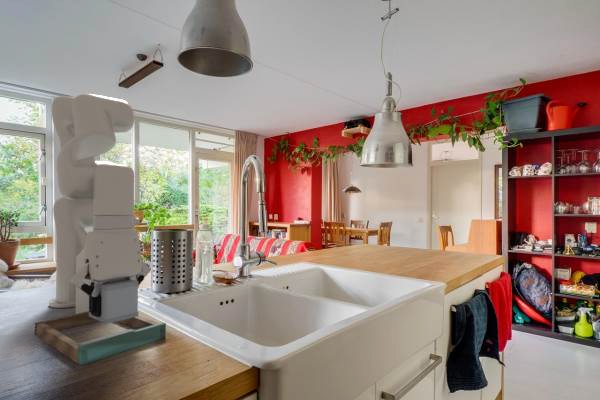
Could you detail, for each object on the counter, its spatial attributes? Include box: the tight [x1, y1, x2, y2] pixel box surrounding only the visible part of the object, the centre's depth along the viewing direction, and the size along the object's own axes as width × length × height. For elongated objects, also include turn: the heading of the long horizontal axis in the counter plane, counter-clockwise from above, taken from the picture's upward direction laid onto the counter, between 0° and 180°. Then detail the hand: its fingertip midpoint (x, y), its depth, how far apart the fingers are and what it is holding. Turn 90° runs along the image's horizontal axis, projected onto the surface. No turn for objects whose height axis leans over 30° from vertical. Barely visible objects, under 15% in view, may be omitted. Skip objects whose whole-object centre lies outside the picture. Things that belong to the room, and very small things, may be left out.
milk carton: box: [75, 247, 91, 314], centre depth 93 cm, size 7×7×19 cm
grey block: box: [89, 278, 140, 325], centre depth 71 cm, size 8×6×7 cm
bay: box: [34, 311, 167, 366], centre depth 75 cm, size 25×16×3 cm, turn 53°
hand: (113, 310), depth 71 cm, fingers closed on grey block, 6 cm apart
